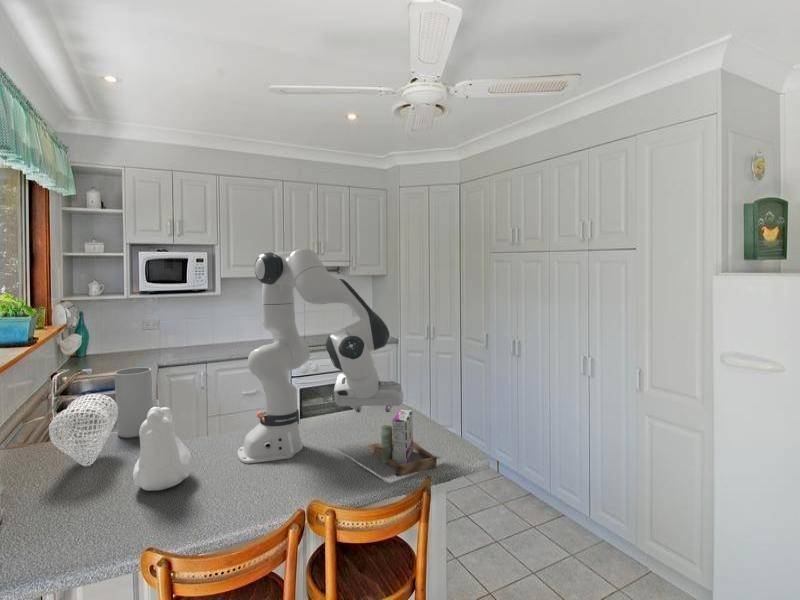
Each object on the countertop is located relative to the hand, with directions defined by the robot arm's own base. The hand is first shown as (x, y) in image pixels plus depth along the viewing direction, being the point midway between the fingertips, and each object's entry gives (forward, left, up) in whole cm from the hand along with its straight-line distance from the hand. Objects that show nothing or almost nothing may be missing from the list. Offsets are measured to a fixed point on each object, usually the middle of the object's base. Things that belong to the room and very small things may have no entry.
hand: (373, 410), depth 140 cm
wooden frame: (+14, +6, -22) cm, 27 cm away
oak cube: (+18, +20, -20) cm, 34 cm away
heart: (-80, +55, -22) cm, 99 cm away
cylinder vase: (-67, +81, -22) cm, 108 cm away
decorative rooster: (-56, +31, -22) cm, 68 cm away
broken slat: (+14, +20, -22) cm, 32 cm away
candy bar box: (+14, +6, -22) cm, 27 cm away
